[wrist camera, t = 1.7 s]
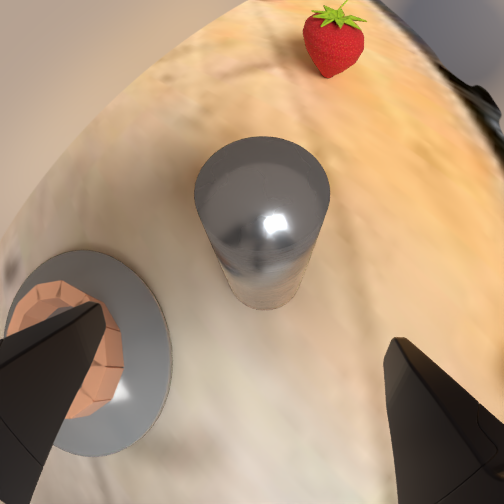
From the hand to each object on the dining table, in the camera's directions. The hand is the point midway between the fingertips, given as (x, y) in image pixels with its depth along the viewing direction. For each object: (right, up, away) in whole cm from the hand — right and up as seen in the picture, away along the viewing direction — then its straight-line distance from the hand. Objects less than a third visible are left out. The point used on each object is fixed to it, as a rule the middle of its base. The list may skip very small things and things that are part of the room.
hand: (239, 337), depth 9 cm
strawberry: (+9, +21, +20) cm, 31 cm away
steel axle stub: (+1, +1, +13) cm, 13 cm away
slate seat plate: (-13, -5, +11) cm, 18 cm away
